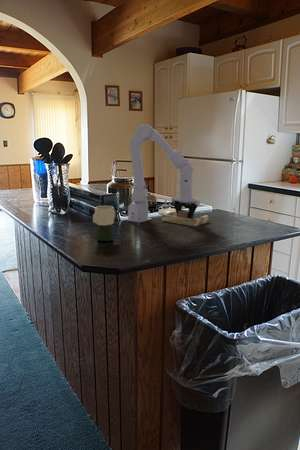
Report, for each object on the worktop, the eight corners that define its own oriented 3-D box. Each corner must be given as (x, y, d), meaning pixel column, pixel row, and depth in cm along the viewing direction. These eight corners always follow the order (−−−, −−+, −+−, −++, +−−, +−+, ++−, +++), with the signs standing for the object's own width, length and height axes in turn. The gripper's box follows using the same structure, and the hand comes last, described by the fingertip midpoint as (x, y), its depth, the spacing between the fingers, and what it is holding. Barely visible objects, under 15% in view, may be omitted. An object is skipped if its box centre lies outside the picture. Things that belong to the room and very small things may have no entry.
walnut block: (186, 223, 173) (186, 212, 172) (177, 221, 176) (177, 211, 175) (192, 221, 177) (192, 210, 176) (183, 219, 180) (183, 209, 179)
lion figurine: (137, 208, 208) (137, 192, 205) (132, 206, 212) (132, 190, 210) (160, 205, 215) (160, 190, 212) (155, 204, 219) (155, 189, 217)
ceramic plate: (175, 217, 185) (175, 215, 184) (153, 213, 193) (153, 211, 193) (190, 212, 195) (190, 210, 195) (168, 209, 204) (168, 207, 203)
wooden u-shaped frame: (194, 226, 167) (194, 219, 166) (161, 220, 178) (161, 214, 177) (208, 221, 176) (208, 215, 175) (175, 216, 187) (175, 210, 186)
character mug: (108, 236, 151) (108, 204, 148) (121, 239, 146) (121, 206, 143) (87, 241, 143) (86, 208, 140) (100, 245, 138) (99, 210, 135)
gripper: (203, 189, 172) (202, 218, 175) (177, 187, 181) (176, 214, 184) (195, 191, 167) (194, 221, 170) (169, 188, 175) (168, 217, 178)
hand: (184, 218), depth 176 cm, fingers open, 6 cm apart
